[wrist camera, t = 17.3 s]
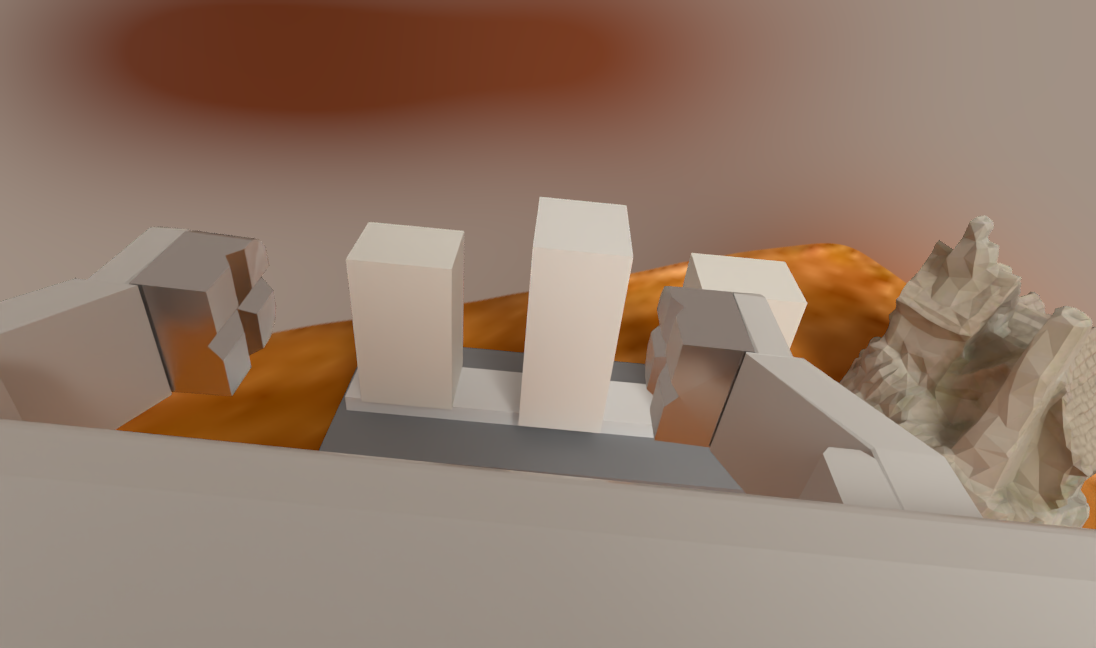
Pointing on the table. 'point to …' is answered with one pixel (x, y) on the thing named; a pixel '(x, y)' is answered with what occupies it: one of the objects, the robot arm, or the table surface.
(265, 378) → the table surface
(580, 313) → the block
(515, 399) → the white u-shaped stand
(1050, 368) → the stone castle model
